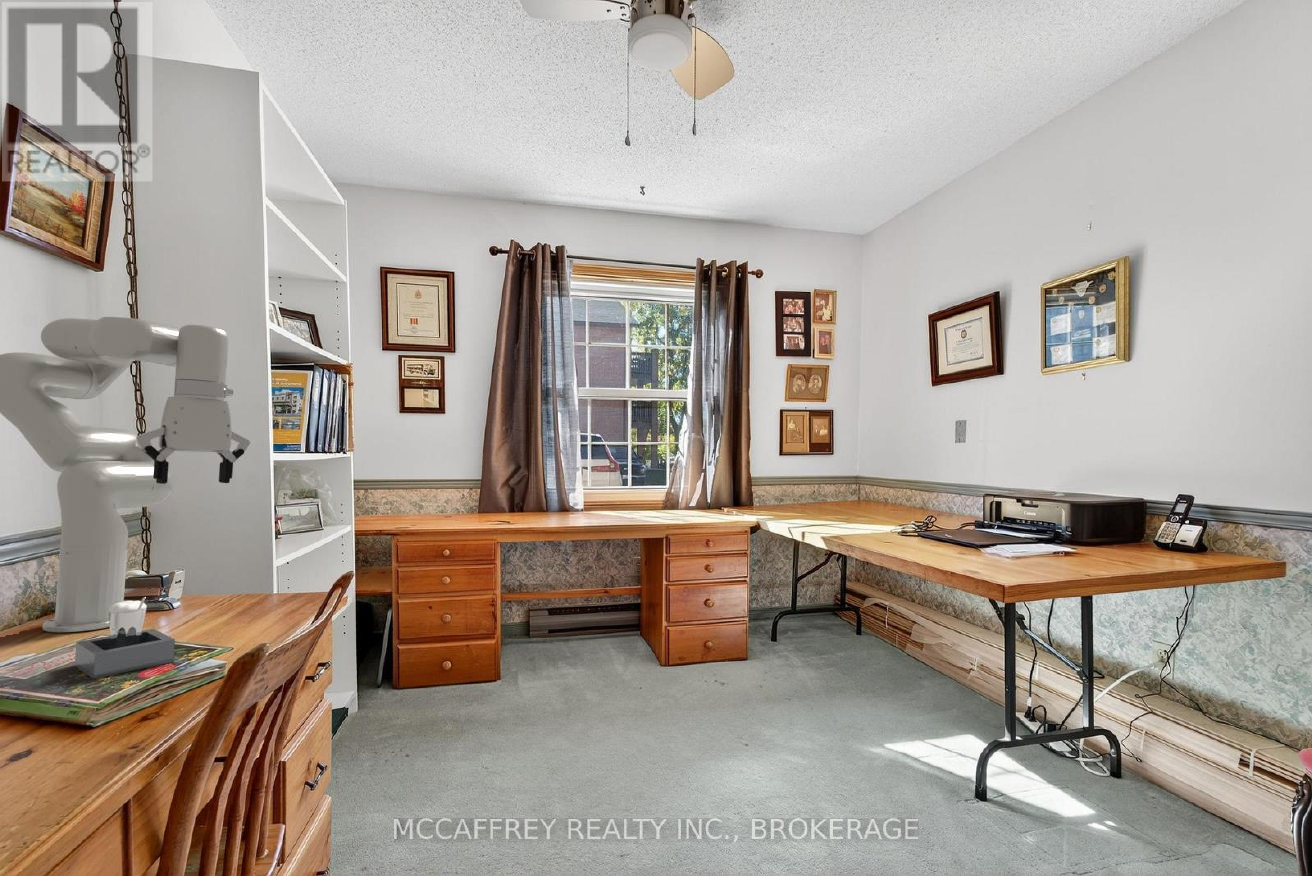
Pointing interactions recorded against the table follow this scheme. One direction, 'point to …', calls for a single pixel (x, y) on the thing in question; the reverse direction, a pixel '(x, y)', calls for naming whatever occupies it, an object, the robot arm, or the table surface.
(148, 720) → the table surface
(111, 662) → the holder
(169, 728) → the table surface
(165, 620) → the table surface
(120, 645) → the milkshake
